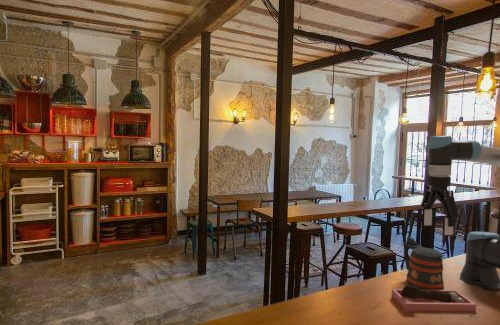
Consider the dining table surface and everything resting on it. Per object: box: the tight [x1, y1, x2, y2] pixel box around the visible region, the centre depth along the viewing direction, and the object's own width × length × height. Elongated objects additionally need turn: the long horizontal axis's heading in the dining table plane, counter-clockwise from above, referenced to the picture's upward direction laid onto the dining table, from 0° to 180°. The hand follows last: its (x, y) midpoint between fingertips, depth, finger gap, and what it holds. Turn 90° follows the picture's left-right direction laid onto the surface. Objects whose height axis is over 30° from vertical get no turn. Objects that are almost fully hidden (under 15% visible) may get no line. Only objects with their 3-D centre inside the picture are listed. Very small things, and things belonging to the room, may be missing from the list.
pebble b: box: [455, 298, 465, 303], centre depth 127 cm, size 3×3×3 cm
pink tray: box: [391, 288, 477, 314], centre depth 129 cm, size 26×12×4 cm, turn 91°
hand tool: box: [401, 284, 451, 303], centre depth 129 cm, size 19×4×5 cm, turn 92°
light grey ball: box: [449, 292, 458, 301], centre depth 131 cm, size 3×3×3 cm
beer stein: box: [402, 236, 445, 290], centre depth 145 cm, size 19×15×20 cm
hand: (437, 229), depth 131 cm, fingers open, 13 cm apart
